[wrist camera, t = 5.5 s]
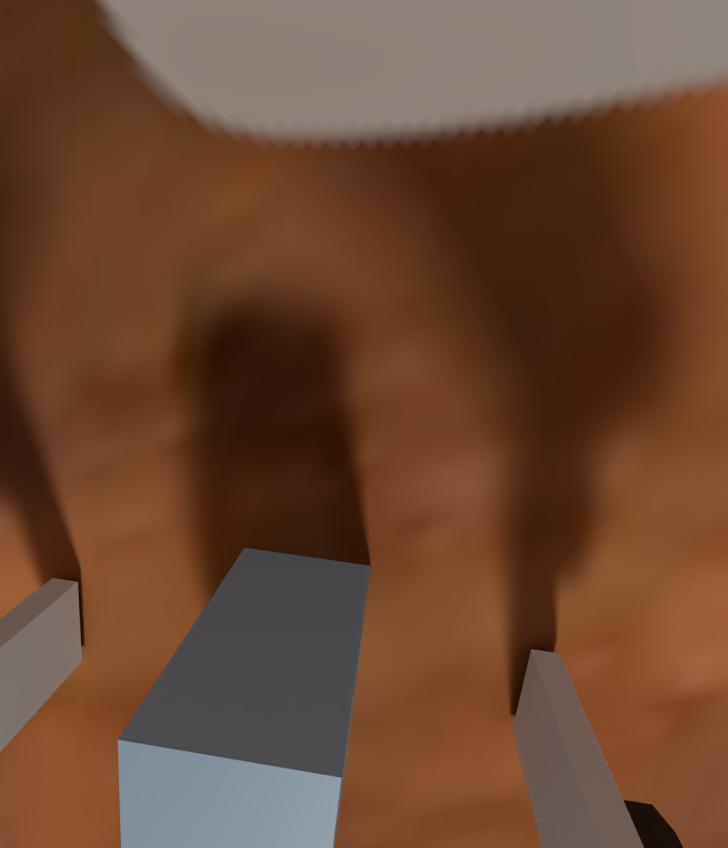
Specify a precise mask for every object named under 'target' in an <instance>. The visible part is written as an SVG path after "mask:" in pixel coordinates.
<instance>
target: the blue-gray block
mask: <svg viewBox="0 0 728 848" xmlns="http://www.w3.org/2000/svg"><path fill="white" fill-rule="evenodd" d="M370 567H371V566H368V565H362V564H355V563H348V562H341V561H334V560H327V559H320V558H313V557H306V556H299V555H292V554H285V553H278V552H271V551H264V550H257V549H250V548H244V549H243V551H242V552H241V554H240V555H239V557H238V558H237V560H236V561H235V563H234V564H233V566H232V567H231V569H230V570H229V572H228V573H227V575H226V577H225V578H224V580H223V581H222V583H221V584H220V586H219V587H218V589H217V590H216V592H215V593H214V595H213V596H212V598H211V599H210V601H209V602H208V604H207V605H206V607H205V608H204V610H203V611H202V613H201V614H200V616H199V617H198V619H197V621H196V622H195V624H194V625H193V627H192V628H191V630H190V631H189V633H188V634H187V636H186V637H185V639H184V640H183V642H182V643H181V645H180V646H179V648H178V649H177V651H176V652H175V654H174V655H173V657H172V658H171V660H170V661H169V663H168V664H167V666H166V668H165V669H164V671H163V672H162V674H161V675H160V677H159V678H158V680H157V681H156V683H155V684H154V686H153V687H152V689H151V690H150V692H149V693H148V695H147V696H146V698H145V699H144V701H143V702H142V704H141V705H140V707H139V708H138V710H137V711H136V713H135V715H134V716H133V718H132V719H131V721H130V722H129V724H128V725H127V727H126V728H125V730H124V731H123V733H122V734H121V736H120V737H119V739H118V760H119V791H120V822H121V848H335V841H336V834H337V826H338V819H339V811H340V804H341V796H342V789H343V781H344V774H345V766H346V759H347V751H348V744H349V736H350V728H351V720H352V712H353V704H354V696H355V688H356V680H357V672H358V664H359V656H360V648H361V640H362V632H363V624H364V616H365V608H366V599H367V591H368V583H369V575H370Z"/></svg>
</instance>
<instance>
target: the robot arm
mask: <svg viewBox="0 0 728 848" xmlns="http://www.w3.org/2000/svg"><path fill="white" fill-rule="evenodd" d="M81 662H82V653H81V634H80V615H79V596H78V582H76V581H69V580H63V579H56V578H52V579H51V580H49V581H48V582H47V583H46V584H44V585H43V586H42V587H40V588H39V589H38V590H37V591H35V592H34V593H33V594H31V595H30V596H29V597H28V598H26V599H25V600H24V601H23V602H21V603H20V604H19V605H17V606H16V607H15V608H14V609H12V610H11V611H10V612H8V613H7V614H6V615H5V616H3V617H2V618H1V619H0V751H1V750H2V749H3V748H4V747H5V746H6V745H7V744H8V743H9V741H10V740H11V739H12V738H13V737H14V736H15V735H16V734H17V733H18V732H19V730H20V729H21V728H22V727H23V726H24V725H25V724H26V723H27V722H28V720H29V719H30V718H31V717H32V716H33V715H34V714H35V713H36V712H37V710H38V709H39V708H40V707H41V706H42V705H43V704H44V703H45V702H46V700H47V699H48V698H49V697H50V696H51V695H52V694H53V693H54V692H55V690H56V689H57V688H58V687H59V686H60V685H61V684H62V683H63V682H64V680H65V679H66V678H67V677H68V676H69V675H70V674H71V673H72V672H73V670H74V669H75V668H76V667H77V666H78V665H79V664H80V663H81ZM513 733H514V737H515V741H516V745H517V749H518V753H519V757H520V761H521V765H522V769H523V773H524V777H525V781H526V785H527V789H528V793H529V797H530V801H531V805H532V809H533V813H534V817H535V821H536V825H537V829H538V833H539V838H540V842H541V846H542V848H683V846H682V845H681V843H680V841H679V839H678V837H677V835H676V833H675V832H674V830H673V829H672V828H671V827H670V826H669V824H668V823H667V822H666V821H665V820H664V818H663V817H662V816H661V815H660V814H659V812H658V811H657V810H656V809H655V808H654V806H653V805H651V804H645V803H639V802H633V801H627V800H623V798H622V796H621V794H620V792H619V789H618V787H617V785H616V782H615V780H614V778H613V775H612V773H611V771H610V769H609V766H608V764H607V762H606V759H605V757H604V755H603V752H602V750H601V748H600V746H599V743H598V741H597V739H596V736H595V734H594V732H593V729H592V727H591V725H590V723H589V720H588V718H587V716H586V713H585V711H584V709H583V706H582V704H581V702H580V700H579V697H578V695H577V693H576V690H575V688H574V686H573V684H572V681H571V679H570V677H569V674H568V672H567V670H566V667H565V665H564V663H563V661H562V658H561V656H560V654H559V653H554V652H547V651H540V650H534V649H531V652H530V656H529V661H528V665H527V669H526V674H525V678H524V682H523V686H522V691H521V695H520V699H519V704H518V708H517V712H516V716H515V721H514V725H513Z"/></svg>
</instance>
